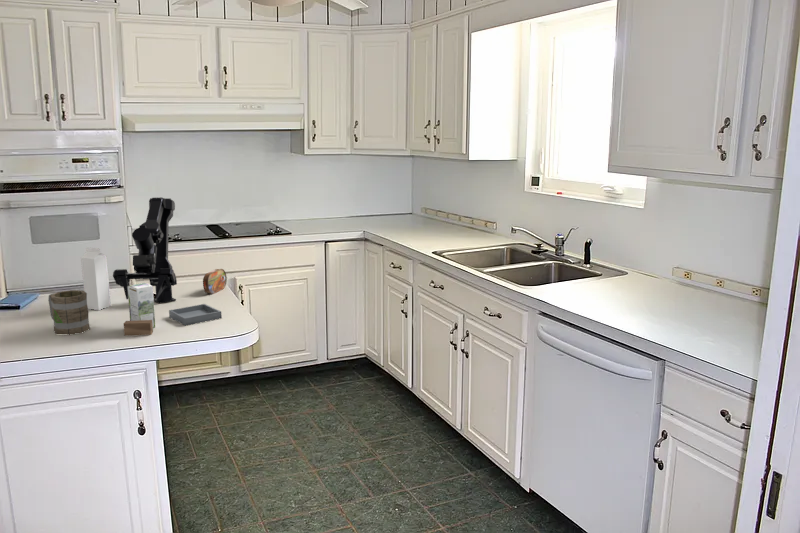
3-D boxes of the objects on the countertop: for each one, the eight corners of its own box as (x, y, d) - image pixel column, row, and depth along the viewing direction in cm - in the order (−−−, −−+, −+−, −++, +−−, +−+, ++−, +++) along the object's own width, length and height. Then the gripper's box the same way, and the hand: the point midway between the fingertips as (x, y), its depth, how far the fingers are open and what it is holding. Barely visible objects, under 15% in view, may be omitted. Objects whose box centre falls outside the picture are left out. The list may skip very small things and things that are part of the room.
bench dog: (126, 332, 216) (125, 320, 215) (153, 331, 217) (152, 319, 216) (124, 335, 213) (123, 323, 212) (150, 334, 214) (150, 322, 213)
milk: (98, 310, 241) (93, 250, 236) (85, 309, 243) (79, 248, 238) (111, 306, 247) (105, 247, 242) (98, 304, 249) (92, 245, 244)
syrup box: (146, 324, 225) (143, 282, 222) (156, 327, 221) (152, 284, 218) (130, 328, 221) (126, 285, 218) (140, 331, 217) (136, 288, 214)
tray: (169, 317, 233) (168, 310, 233) (204, 310, 241) (204, 303, 241) (185, 325, 224) (184, 318, 223) (221, 318, 232) (221, 311, 231)
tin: (209, 296, 262) (208, 274, 260) (202, 295, 262) (200, 274, 261) (227, 287, 276) (226, 266, 274) (220, 286, 277) (219, 266, 275)
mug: (97, 328, 220) (94, 292, 218) (67, 337, 211) (63, 300, 209) (67, 321, 228) (64, 286, 226) (37, 329, 219) (33, 293, 217)
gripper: (111, 245, 220) (105, 286, 212) (171, 244, 223) (166, 284, 215) (120, 264, 230) (114, 304, 221) (176, 262, 232) (173, 302, 224)
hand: (141, 298), depth 220 cm, fingers open, 9 cm apart
